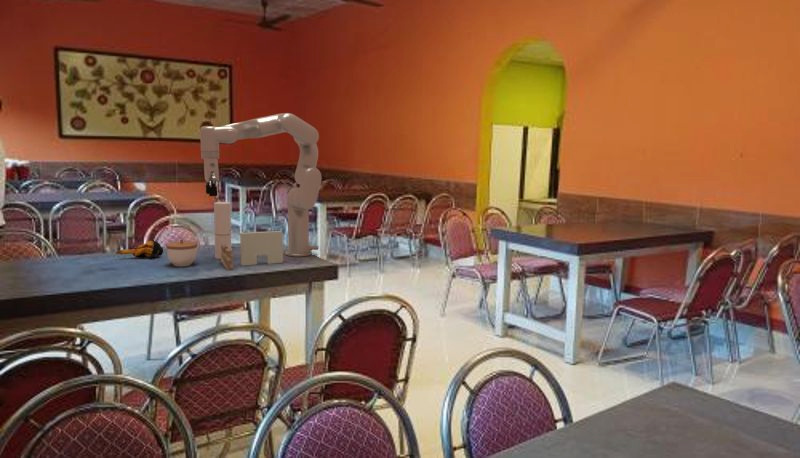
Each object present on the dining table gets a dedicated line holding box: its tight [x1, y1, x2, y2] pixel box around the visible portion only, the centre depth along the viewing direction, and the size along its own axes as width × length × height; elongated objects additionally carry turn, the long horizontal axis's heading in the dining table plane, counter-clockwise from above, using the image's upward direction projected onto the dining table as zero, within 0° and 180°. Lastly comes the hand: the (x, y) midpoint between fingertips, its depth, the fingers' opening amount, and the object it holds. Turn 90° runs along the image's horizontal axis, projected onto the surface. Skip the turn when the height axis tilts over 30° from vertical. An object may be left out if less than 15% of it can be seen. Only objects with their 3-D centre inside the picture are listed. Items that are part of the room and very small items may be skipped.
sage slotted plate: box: [239, 230, 284, 267], centre depth 268 cm, size 18×2×14 cm, turn 116°
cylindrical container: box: [213, 201, 232, 260], centre depth 278 cm, size 7×7×25 cm
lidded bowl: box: [165, 238, 198, 267], centre depth 262 cm, size 13×13×11 cm
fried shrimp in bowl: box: [115, 238, 164, 260], centre depth 273 cm, size 9×11×18 cm
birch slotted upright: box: [220, 245, 234, 271], centre depth 261 cm, size 2×15×8 cm, turn 27°
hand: (211, 194), depth 266 cm, fingers open, 9 cm apart
